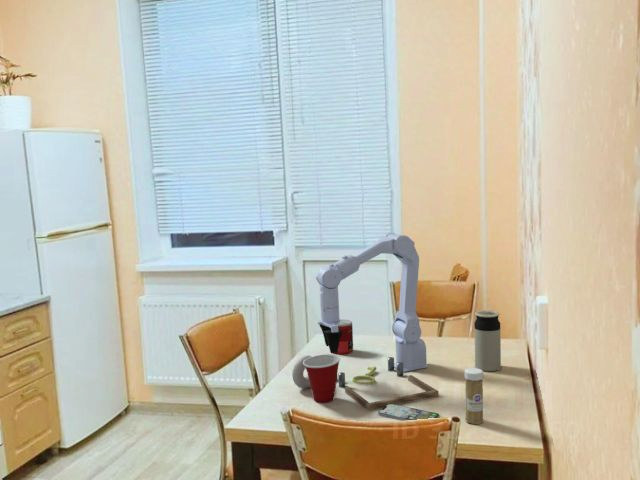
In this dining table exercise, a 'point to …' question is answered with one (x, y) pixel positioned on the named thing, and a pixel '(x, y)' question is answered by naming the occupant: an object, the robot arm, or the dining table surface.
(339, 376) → the spacers
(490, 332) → the travel mug
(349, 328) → the canned food
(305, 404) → the dining table surface
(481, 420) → the sprinkles bottle
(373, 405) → the bay
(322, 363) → the plastic cup
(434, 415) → the smartphone
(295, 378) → the donut
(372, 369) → the key
